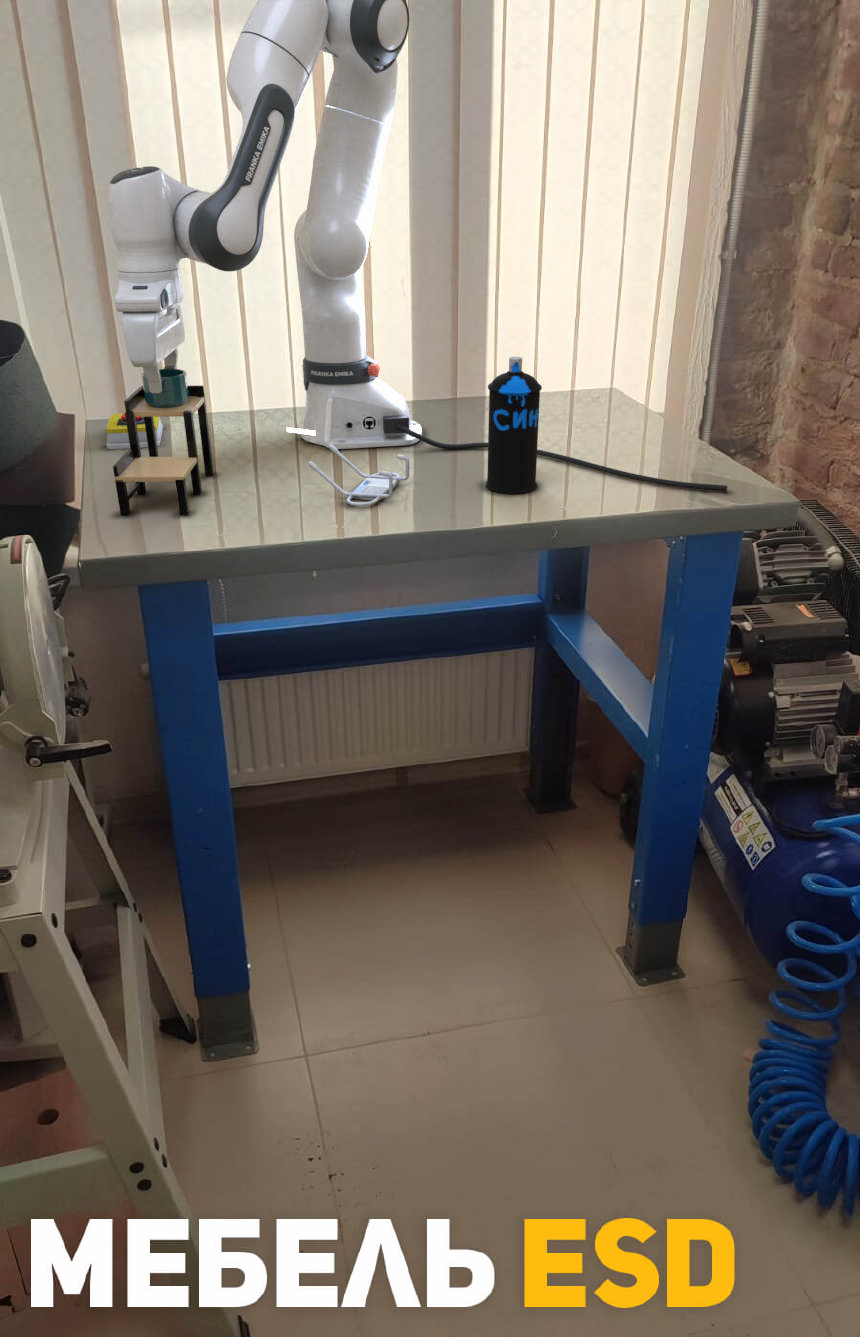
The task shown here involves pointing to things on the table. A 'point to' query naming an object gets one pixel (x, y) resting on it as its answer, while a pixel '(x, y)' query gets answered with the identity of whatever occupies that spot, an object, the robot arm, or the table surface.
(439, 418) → the table surface
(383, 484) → the wall mount rack
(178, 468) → the rack
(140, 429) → the emergency button
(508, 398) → the aerosol can
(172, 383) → the cup
